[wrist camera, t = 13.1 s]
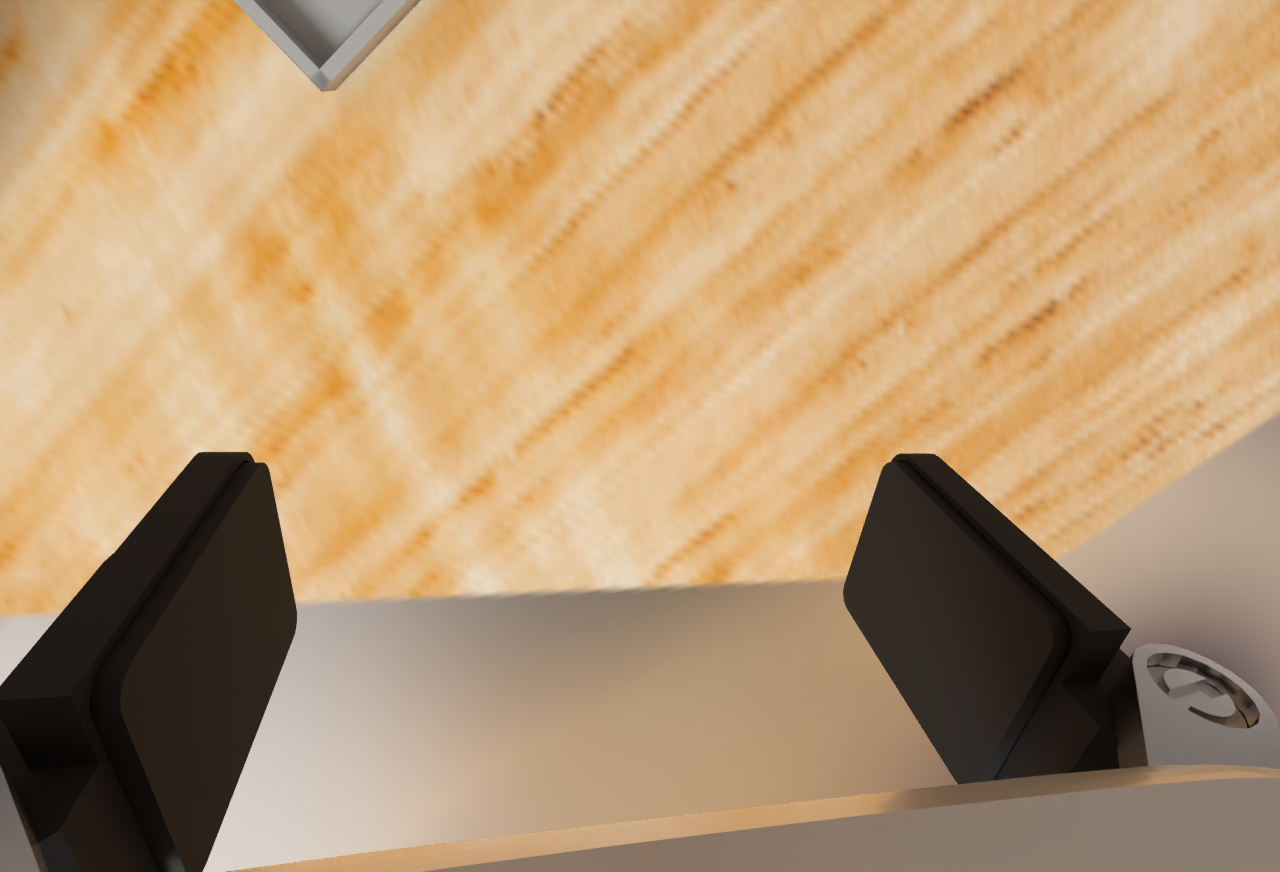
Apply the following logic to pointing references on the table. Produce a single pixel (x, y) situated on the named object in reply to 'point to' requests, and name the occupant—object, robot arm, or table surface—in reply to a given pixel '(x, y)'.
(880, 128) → the table surface
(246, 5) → the carton
